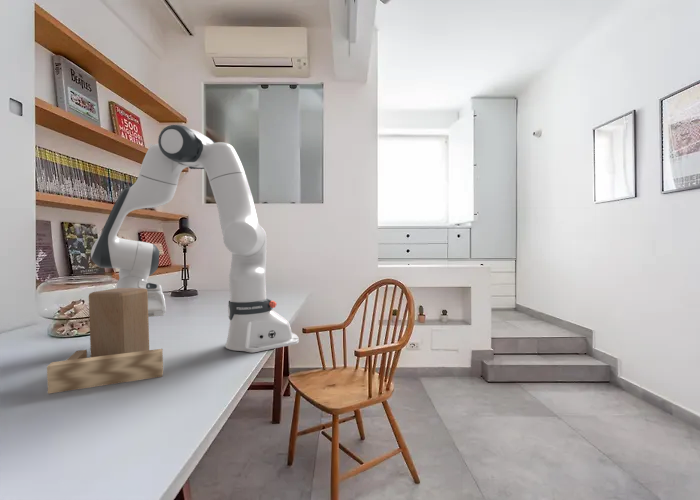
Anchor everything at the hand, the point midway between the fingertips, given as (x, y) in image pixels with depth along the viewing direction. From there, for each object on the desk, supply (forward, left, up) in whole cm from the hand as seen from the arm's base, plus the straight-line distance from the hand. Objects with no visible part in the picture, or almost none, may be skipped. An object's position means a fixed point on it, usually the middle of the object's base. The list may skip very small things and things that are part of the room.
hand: (127, 328), depth 106 cm
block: (0, +12, -7) cm, 14 cm away
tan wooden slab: (0, +22, -7) cm, 23 cm away
